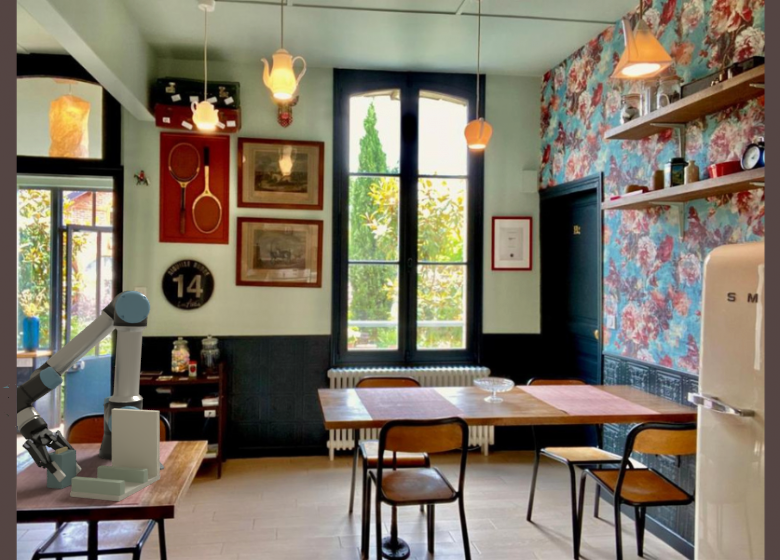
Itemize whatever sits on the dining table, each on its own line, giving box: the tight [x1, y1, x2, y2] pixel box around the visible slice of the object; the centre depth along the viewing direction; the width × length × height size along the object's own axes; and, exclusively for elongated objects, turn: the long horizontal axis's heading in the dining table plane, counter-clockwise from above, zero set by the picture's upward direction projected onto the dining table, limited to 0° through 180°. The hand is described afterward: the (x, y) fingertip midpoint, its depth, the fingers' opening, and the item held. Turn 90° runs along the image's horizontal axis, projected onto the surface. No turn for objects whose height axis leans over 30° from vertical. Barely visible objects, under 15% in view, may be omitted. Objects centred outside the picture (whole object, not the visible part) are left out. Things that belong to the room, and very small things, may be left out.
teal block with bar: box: [46, 447, 77, 490], centre depth 185 cm, size 6×6×12 cm
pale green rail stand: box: [69, 409, 161, 502], centre depth 182 cm, size 20×18×24 cm
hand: (70, 475), depth 184 cm, fingers closed on teal block with bar, 6 cm apart
